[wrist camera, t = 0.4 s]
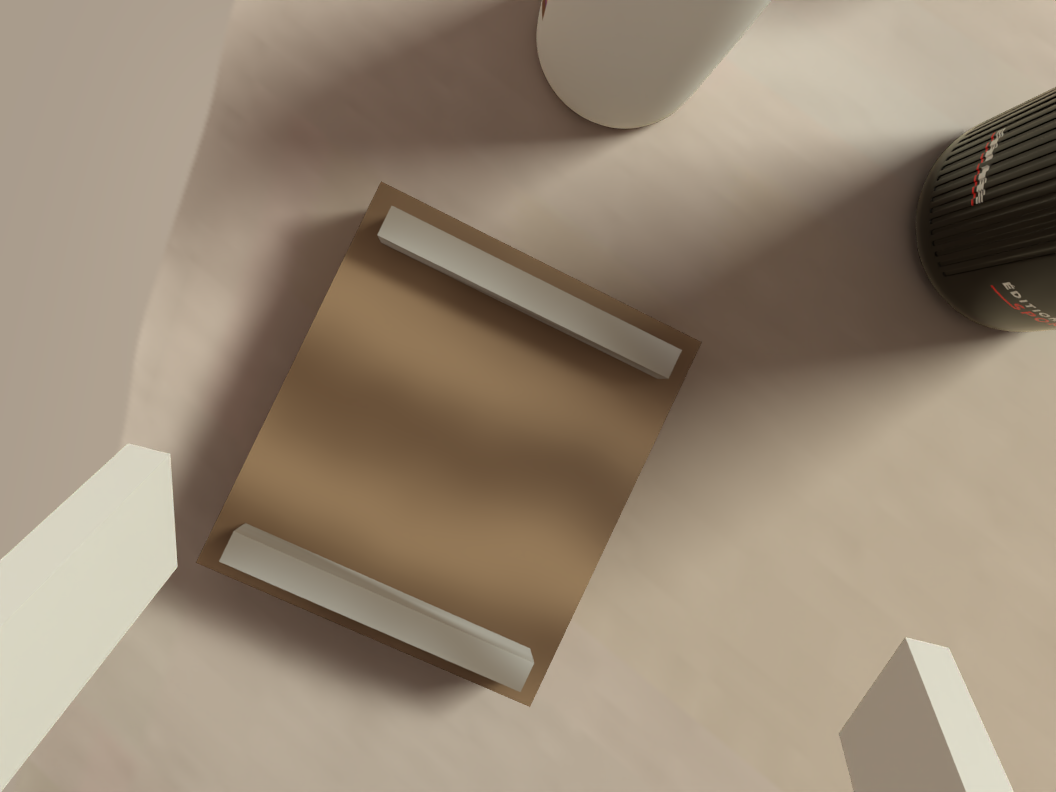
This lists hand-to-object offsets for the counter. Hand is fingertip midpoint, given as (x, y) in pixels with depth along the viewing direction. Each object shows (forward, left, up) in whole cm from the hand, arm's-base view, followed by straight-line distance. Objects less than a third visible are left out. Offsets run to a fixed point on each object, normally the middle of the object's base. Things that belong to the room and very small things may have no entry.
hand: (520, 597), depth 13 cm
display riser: (+1, +1, -20) cm, 20 cm away
